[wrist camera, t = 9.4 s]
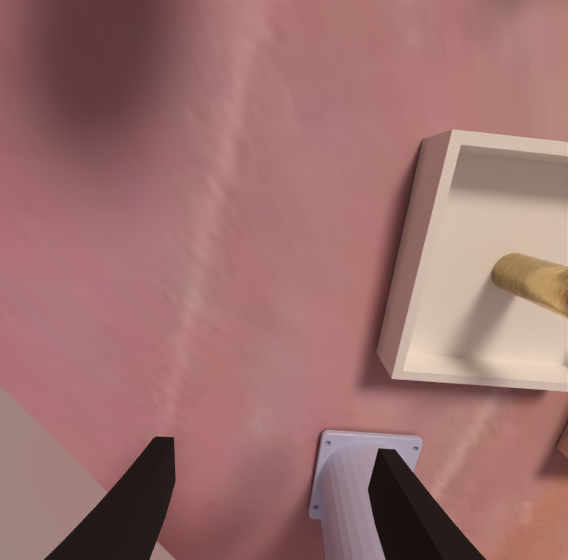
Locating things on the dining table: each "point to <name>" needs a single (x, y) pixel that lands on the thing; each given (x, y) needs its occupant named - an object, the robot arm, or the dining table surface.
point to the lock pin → (534, 281)
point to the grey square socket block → (564, 442)
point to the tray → (478, 264)
